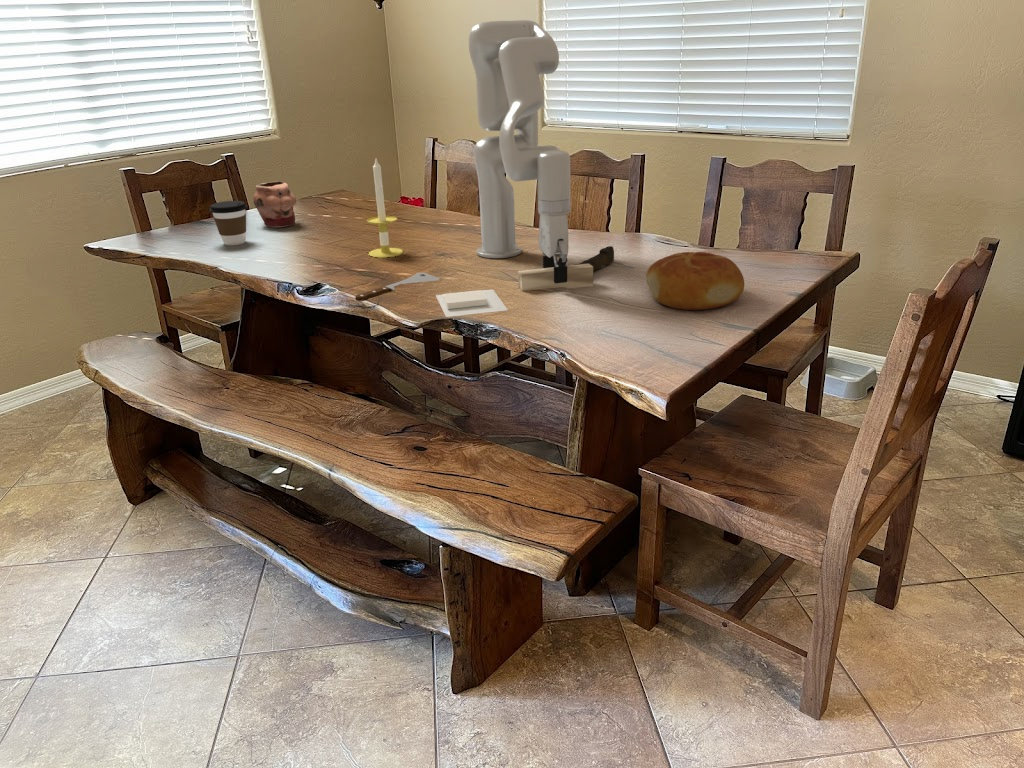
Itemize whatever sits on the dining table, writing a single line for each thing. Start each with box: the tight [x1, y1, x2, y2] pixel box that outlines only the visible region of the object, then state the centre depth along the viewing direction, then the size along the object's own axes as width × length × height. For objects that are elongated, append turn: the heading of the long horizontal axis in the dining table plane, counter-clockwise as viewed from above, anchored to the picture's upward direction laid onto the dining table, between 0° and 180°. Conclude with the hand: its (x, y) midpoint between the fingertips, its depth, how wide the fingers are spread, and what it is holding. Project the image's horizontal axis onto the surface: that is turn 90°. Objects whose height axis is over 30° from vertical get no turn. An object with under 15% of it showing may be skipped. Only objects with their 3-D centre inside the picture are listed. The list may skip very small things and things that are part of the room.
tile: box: [441, 289, 487, 310], centre depth 180 cm, size 7×2×9 cm
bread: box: [645, 251, 745, 311], centre depth 179 cm, size 23×23×10 cm
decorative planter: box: [253, 181, 297, 228], centre depth 260 cm, size 20×12×14 cm, turn 51°
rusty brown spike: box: [575, 245, 615, 272], centre depth 202 cm, size 19×4×5 cm, turn 143°
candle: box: [366, 158, 404, 259], centre depth 219 cm, size 10×10×27 cm
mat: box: [435, 288, 509, 318], centre depth 181 cm, size 16×14×1 cm
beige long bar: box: [517, 264, 594, 292], centre depth 189 cm, size 3×18×5 cm, turn 104°
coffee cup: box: [209, 200, 248, 246], centre depth 239 cm, size 11×11×12 cm
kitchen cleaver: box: [354, 272, 440, 302], centre depth 194 cm, size 24×1×10 cm
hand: (554, 276), depth 189 cm, fingers open, 9 cm apart
